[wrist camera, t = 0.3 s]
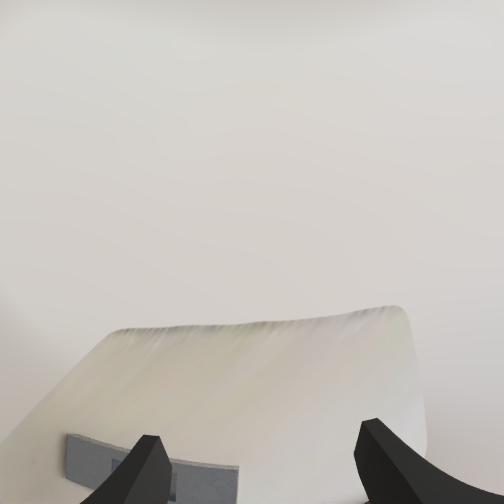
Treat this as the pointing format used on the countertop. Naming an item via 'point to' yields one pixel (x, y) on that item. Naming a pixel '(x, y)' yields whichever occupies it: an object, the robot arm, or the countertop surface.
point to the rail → (183, 473)
